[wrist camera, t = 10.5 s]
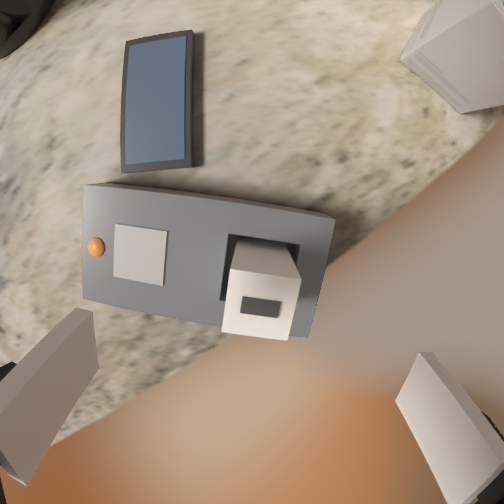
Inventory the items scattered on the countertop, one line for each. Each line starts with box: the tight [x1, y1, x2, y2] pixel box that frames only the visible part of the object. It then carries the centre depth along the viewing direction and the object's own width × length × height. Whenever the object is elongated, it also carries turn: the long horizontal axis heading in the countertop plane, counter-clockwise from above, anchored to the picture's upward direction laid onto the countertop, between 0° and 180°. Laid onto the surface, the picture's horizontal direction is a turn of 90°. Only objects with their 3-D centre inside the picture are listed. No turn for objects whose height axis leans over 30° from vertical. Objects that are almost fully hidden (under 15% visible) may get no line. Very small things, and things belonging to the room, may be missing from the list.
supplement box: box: [399, 0, 504, 114], centre depth 14 cm, size 9×9×15 cm
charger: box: [222, 236, 302, 340], centre depth 21 cm, size 4×4×9 cm
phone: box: [120, 30, 194, 173], centre depth 23 cm, size 13×6×1 cm, turn 1°
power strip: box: [82, 183, 336, 338], centre depth 25 cm, size 10×20×4 cm, turn 81°
